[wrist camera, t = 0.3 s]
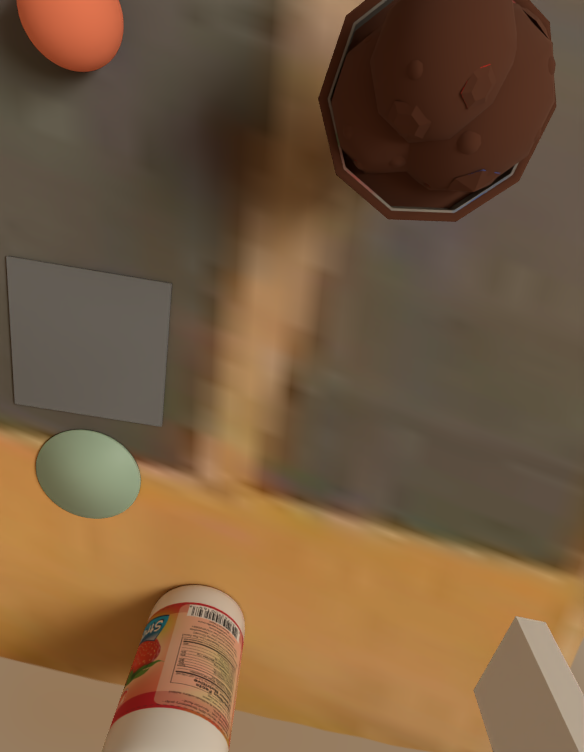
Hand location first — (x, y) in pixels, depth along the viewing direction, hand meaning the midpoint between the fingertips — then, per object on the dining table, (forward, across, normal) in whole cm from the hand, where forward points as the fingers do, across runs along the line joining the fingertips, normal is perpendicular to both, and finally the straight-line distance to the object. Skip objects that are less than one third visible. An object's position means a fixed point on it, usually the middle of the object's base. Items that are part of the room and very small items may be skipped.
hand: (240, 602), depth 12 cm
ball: (+24, -16, +14) cm, 32 cm away
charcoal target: (+27, -14, -6) cm, 31 cm away
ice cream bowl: (+27, +4, +14) cm, 31 cm away
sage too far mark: (+27, -13, -18) cm, 35 cm away
